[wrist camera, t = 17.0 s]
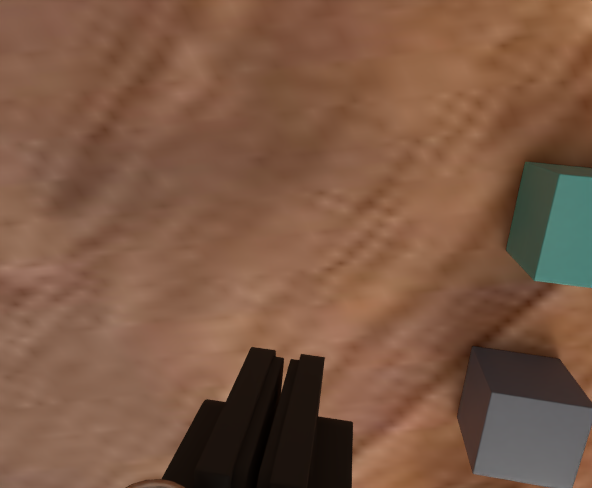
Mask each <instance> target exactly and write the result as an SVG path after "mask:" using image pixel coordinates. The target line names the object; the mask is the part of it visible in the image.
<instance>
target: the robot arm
mask: <svg viewBox="0 0 592 488" xmlns="http://www.w3.org/2000/svg"><path fill="white" fill-rule="evenodd" d="M324 359H325V357H319V356H311V355H304V354H301V356H300V360H294V359H291V360H290V363H289V367H288V371H287V374H286V378H285V381H284V385H283V388H282V392H281V387H282V376H283V365H284V358H280V357H276V351H275V350H269V349H262V348H255V347H251V349H250V351H249V353H248V355H247V357H246V359H245V362H244V364H243V366H242V368H241V370H240V372H239V375H238V377H237V379H236V381H235V383H234V385H233V388H232V390H231V392H230V394H229V396H228V398H227V401H226V402H221V401H214V400H208V399H207V400H205V401H204V402H203V404H202V405H201V407H200V409H199V411H198V413H197V414H196V416H195V418H194V420H193V422H192V424H191V426H190V427H189V429H188V431H187V433H186V435H185V437H184V439H183V440H182V442H181V444H180V446H179V448H178V450H177V452H176V453H175V455H174V457H173V459H172V461H171V463H170V464H169V466H168V468H167V470H166V472H165V474H164V476H163V477H162V479H154V480H144V481H141V482H137V483H134V484H131V485H129V486H128V487H126V488H352V442H353V422H350V421H344V420H337V419H331V418H324V417H318V411H319V403H320V394H321V386H322V377H323V368H324Z"/></svg>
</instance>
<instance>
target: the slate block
mask: <svg viewBox="0 0 592 488" xmlns="http://www.w3.org/2000/svg"><path fill="white" fill-rule="evenodd" d="M457 418H458V422H459V425H460V429H461V433H462V436H463V440H464V443H465V447H466V451H467V454H468V458H469V462H470V465H471V469H472V473H473V474H477V475H483V476H488V477H494V478H499V479H505V480H511V481H516V482H522V483H528V484H533V485H539V486H544V487H550V488H573V484H574V481H575V478H576V475H577V471H578V468H579V465H580V462H581V458H582V455H583V452H584V449H585V445H586V442H587V439H588V436H589V432H590V429H591V426H592V402H591V401H590V399H589V398H588V397H587V395H586V394H585V393H584V391H583V390H582V389H581V387H580V386H579V384H578V383H577V382H576V380H575V379H574V378H573V376H572V375H571V374H570V372H569V371H568V370H567V368H566V367H565V366H564V364H563V363H562V362H561V360H560V359H557V358H550V357H543V356H537V355H530V354H523V353H516V352H510V351H503V350H496V349H489V348H482V347H476V346H472V349H471V354H470V359H469V363H468V368H467V373H466V377H465V382H464V387H463V392H462V396H461V401H460V406H459V410H458V415H457Z"/></svg>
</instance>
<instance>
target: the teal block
mask: <svg viewBox="0 0 592 488" xmlns="http://www.w3.org/2000/svg"><path fill="white" fill-rule="evenodd" d="M506 251H507V252H508V253H509V254H510V255H511V256H512V258H513V259H514V260H515V261H516V262H517V263H518V264H519V265H520V266H521V267H522V268H523V269H524V270H525V271H526V272H527V274H528V275H529V276H530V277H531V278H532V279H533V280H534V281H540V282H548V283H556V284H564V285H572V286H580V287H588V288H592V168H586V167H576V166H566V165H556V164H545V163H535V162H525V165H524V169H523V174H522V179H521V183H520V188H519V192H518V197H517V202H516V206H515V211H514V215H513V220H512V225H511V229H510V234H509V238H508V243H507V248H506Z"/></svg>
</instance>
